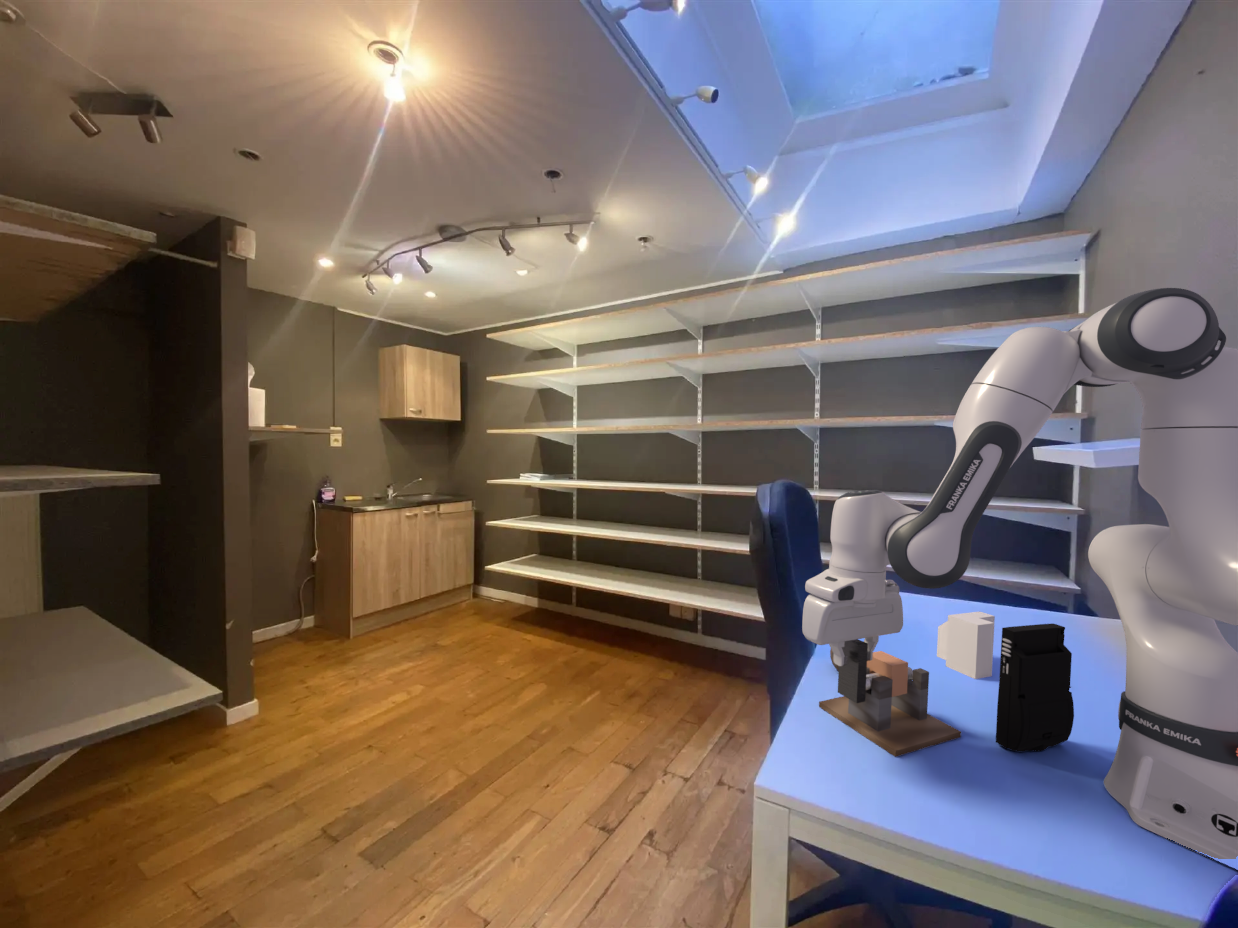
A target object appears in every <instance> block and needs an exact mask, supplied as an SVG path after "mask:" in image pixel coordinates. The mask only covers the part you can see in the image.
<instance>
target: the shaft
mask: <svg viewBox="0 0 1238 928" xmlns="http://www.w3.org/2000/svg"><path fill="white" fill-rule="evenodd" d="M842 650H843V653H844V654H846V655H848V664H847V665H844V666H839V671H838V673H837V674H838V675H837V676H838V679H837V693H838V694H840V695H841V696H842V697H843V696H845V697H846V698H848V699H850V700H852V701H853V702H855V703H861V702H865V695H866V690H870V689H872V678H875V677H880V676H882V675H880V674H878V673H872V674H867V675H866V672H867V650H868V644H867V643H865V642H864V640H862V639H856V640H850V641H845V643H844V647H842ZM913 670H914V669H913V668H911V667H910V666H908V681H911V680H912V681H913Z"/></svg>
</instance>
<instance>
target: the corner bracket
mask: <svg viewBox="0 0 1238 928" xmlns="http://www.w3.org/2000/svg"><path fill="white" fill-rule="evenodd" d="M995 617H996V616H995V615H992V614H989V613H985V612H982V611H973V612H963V613H954V614H948V615H947V620H946V621H945V622H943V623H942V624H940V625H938V627H937V643H936V645H937V646H936V657H937V658H940V659H942V660H944V661H945V667H947V668H949V669H951V670H952V671H956V672H957V673H960V674H961V675H965V676H967V677H969V678H972V679H973V680H978V679H984V678H990V677H992V676H993V662H994V661H993V659H994V658H993V657H994V656H993V655H994V642H995V641H994V639H995V621H996V619H995Z"/></svg>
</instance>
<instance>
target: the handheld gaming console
mask: <svg viewBox="0 0 1238 928" xmlns="http://www.w3.org/2000/svg"><path fill="white" fill-rule="evenodd" d="M1065 630H1066V627H1065V626H1063V625H1060V624H1057V623H1040V624H1038V623H1037V624H1029V625H1026V624H1025V625H1017V626H1006V627H1002V628H1001V644H1000V645H1001V646H1000V647H1001V648H1000V658H999V659H1000V661H999V663H1000V664H999V677H998V678H999V679H998V695H997V704H996V705H997V709H996V724H995V725H996V726H995V743H996V744H997V745H999V746H1001V747H1003V748H1005V749H1008V750H1010V751H1012V752H1016V753H1017V752H1020V753H1022V752H1023V753H1024V752H1043V751H1045V750H1047V749H1048V748H1049V747H1051V748H1053V747H1055V746H1057V745H1060V744H1062V743H1064V742H1067V741H1068V740H1069V738H1070V736H1071V734H1072V730H1073V726H1074V719H1075V711H1074V710H1075V708H1074V705H1075V704H1074V699H1073V694H1072V693H1073V692H1072V691H1070V689H1071V688H1072V686H1071V676H1072V675H1071V674H1072V655H1073V653H1072V652H1071V651H1070V650H1069V648H1068V647H1067V646H1066V645H1065Z"/></svg>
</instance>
